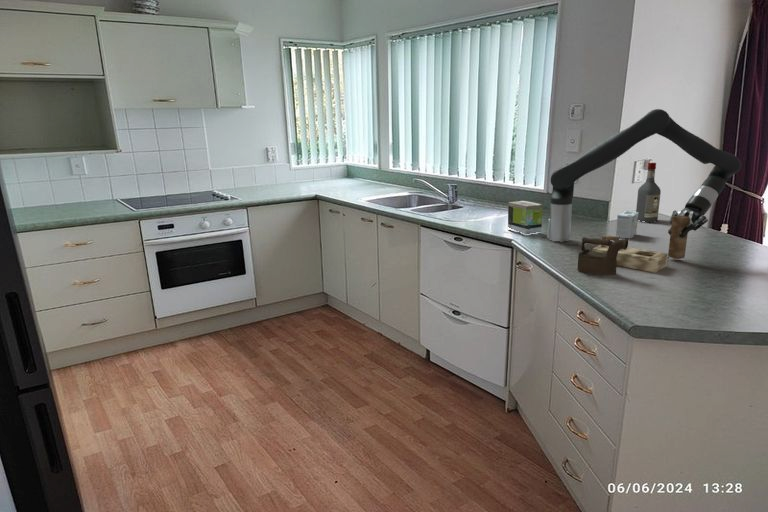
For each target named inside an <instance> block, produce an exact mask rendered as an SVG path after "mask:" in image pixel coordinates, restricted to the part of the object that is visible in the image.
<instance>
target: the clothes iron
mask: <svg viewBox="0 0 768 512" xmlns="http://www.w3.org/2000/svg"><path fill="white" fill-rule="evenodd" d="M585 244H590V245H596V246H599V245H606V246H609V248H608V250H607V253H600V252H595V251H592V250H590V249H589V248H586V247H585ZM627 247H629V239H625V238H621V239H619V240H617V241H613V240H607V239H606V240H602V238H594V237H591V238H590V237H585V236H584V237H582V238H581V248H580V252H578V255H577V257H578V259H577V271H579V272H582V273H586V274H587V273H588V274H597V275H616V273H617V267H618V265H617V259H616V258H617V254H618V251H619V250H620V249H624V250H626V249H627Z"/></svg>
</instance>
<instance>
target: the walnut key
mask: <svg viewBox="0 0 768 512" xmlns="http://www.w3.org/2000/svg"><path fill="white" fill-rule="evenodd" d="M689 219H690V217H687V216H681V215H679V216H673V217H672V225H671V227H670V228H671V234H670V235H669V242H668V243H669V245H668V252H667V254H668V255H667V258H672V259H675V260H679V259H684V258H685V257H686V251H687V249H686V248H687V242H688V236H689V235H688V234H689V232H688V233H687V235H686V236H685V237H683V238H681V237H680V236H679V233H680V232H681V231H682V230H683V228H684V227H686V224H687V223H688V220H689Z"/></svg>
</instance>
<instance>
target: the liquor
mask: <svg viewBox="0 0 768 512" xmlns="http://www.w3.org/2000/svg"><path fill="white" fill-rule="evenodd" d="M656 169H657V162H648V163H647V176H646V180H645V182H644V183H643V184H642V185H640V186H639V188H638V189H637V200H636V207H635V212H639V213H638V220H640V221H645V222H652V223H655V222H654V221H657V222H658V219H659V210H660V201H661V188H660V186H658V184H657V183H656V181H655V178H656V177H655V176H656V175H655V174H656Z"/></svg>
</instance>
